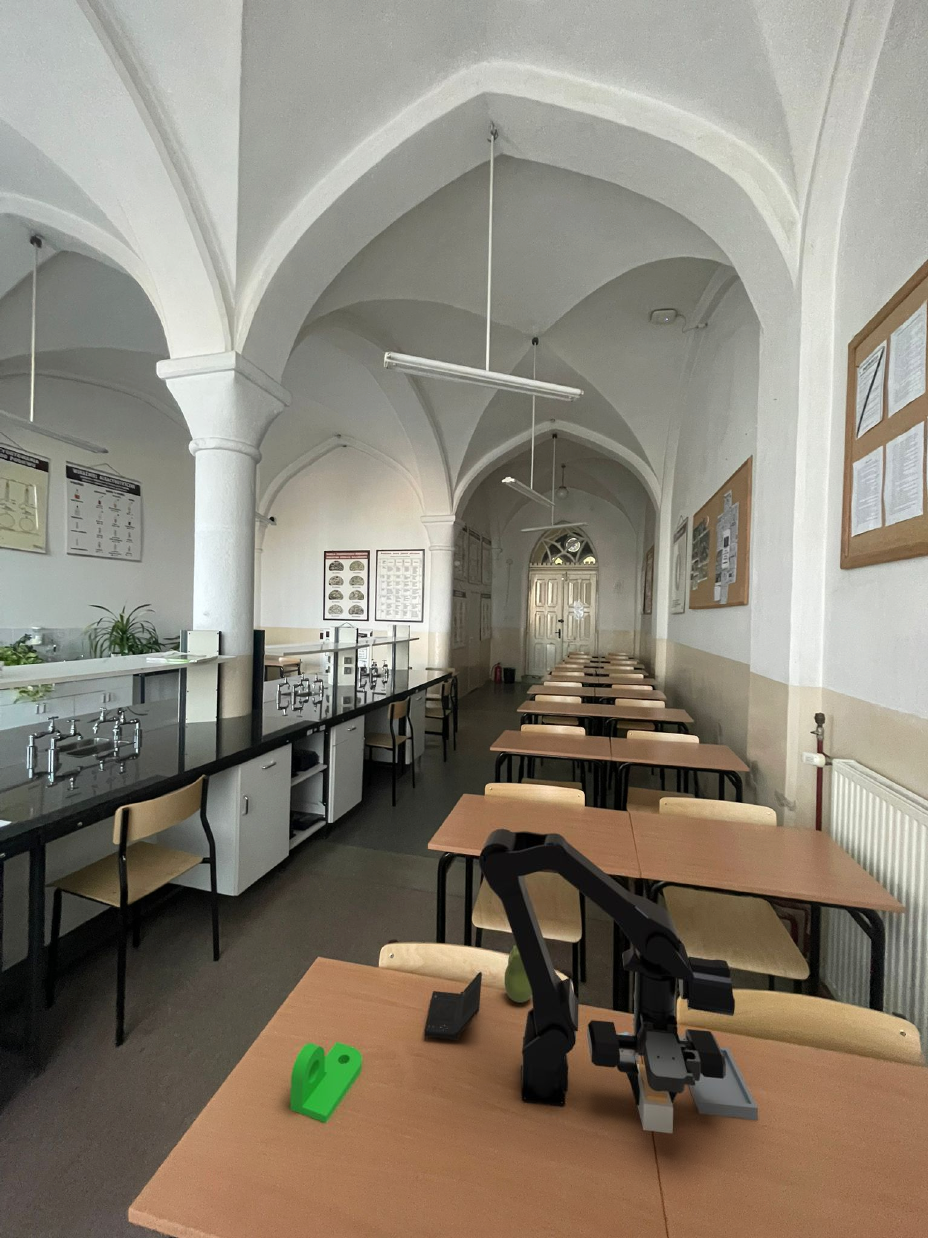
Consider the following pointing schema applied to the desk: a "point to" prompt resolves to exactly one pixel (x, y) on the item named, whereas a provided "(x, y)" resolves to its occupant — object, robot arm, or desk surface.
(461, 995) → the handheld gaming console
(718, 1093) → the grey rectangular tray
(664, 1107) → the white orange block
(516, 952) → the pear
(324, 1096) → the mechanical part
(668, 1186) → the desk surface
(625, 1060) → the robot arm
